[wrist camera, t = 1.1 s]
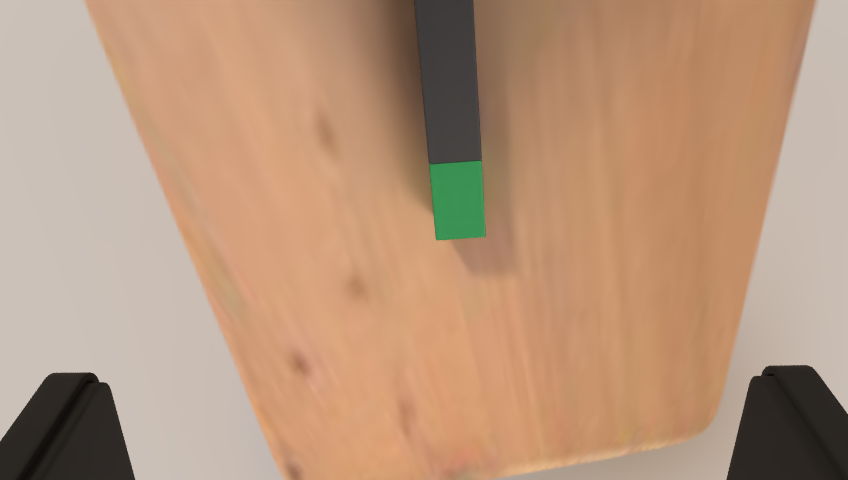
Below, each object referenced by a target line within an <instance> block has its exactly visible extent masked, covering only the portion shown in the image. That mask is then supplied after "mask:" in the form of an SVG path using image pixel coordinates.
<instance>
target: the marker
mask: <svg viewBox="0 0 848 480" xmlns="http://www.w3.org/2000/svg"><path fill="white" fill-rule="evenodd" d="M414 4H415V15H416V26H417V37H418V48H419V59H420V70H421V81H422V92H423V103H424V114H425V125H426V136H427V147H428V158H429V169H430V180H431V191H432V202H433V213H434V224H435V234H436V240H450V239H464V238H478V237H485V236H486V231H485V212H484V194H483V175H482V160H481V159H482V157H481V138H480V120H479V101H478V83H477V64H476V46H475V27H474V9H473V0H414Z"/></svg>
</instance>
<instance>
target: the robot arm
mask: <svg viewBox="0 0 848 480" xmlns="http://www.w3.org/2000/svg"><path fill="white" fill-rule="evenodd" d="M0 480H135V477H134V474H133V470H132V466H131V462H130V459H129V455H128V451H127V448H126V444H125V440H124V437H123V433H122V430H121V426H120V422H119V418H118V415H117V411H116V407H115V404H114V400H113V396H112V393H111V389H110V387H109V385H108V384H107V383H104V382H99V380H98V378H97V376H96V375H95V374H93V373H52V374H50V375H48V377H46V379H45V380H44V381H43V383H42V384H41V385H40V387H39V388H38V390H37V391H36V392H35V394H34V395H33V396H32V398H31V399H30V401H29V402H28V403H27V405H26V406H25V408H24V409H23V410H22V412H21V413H20V415H19V416H18V417H17V419H16V420H15V422H14V423H13V424H12V426H11V427H10V429H9V430H8V431H7V433H6V434H5V436H4V437H3V438H2V440H1V441H0ZM727 480H848V414H847V413H846V411H845V410H844V409H843V407H842V406H841V404H840V403H839V402H838V400H837V399H836V398H835V396H834V395H833V394H832V392H831V391H830V390H829V388H828V387H827V385H826V384H825V383H824V381H823V380H822V379H821V377H820V376H819V375H818V374H817V372H816V371H815V370H814V369H813V368H812V367H810V366H807V365H800V366H799V365H793V366H768V367H766V368H765V369H764V370H763V372H762V375H761V376H754V377H753V378H752V379H751V381H750V384H749V388H748V392H747V397H746V400H745V405H744V409H743V413H742V417H741V421H740V425H739V430H738V434H737V438H736V442H735V446H734V450H733V455H732V459H731V463H730V467H729V471H728V476H727Z"/></svg>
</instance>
